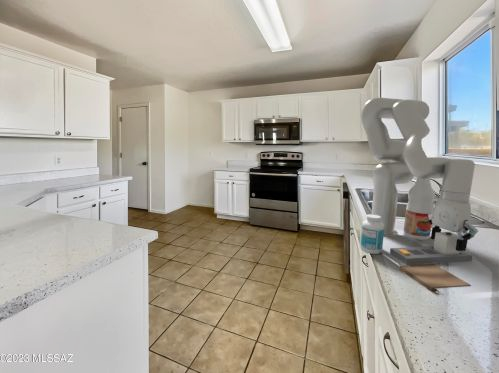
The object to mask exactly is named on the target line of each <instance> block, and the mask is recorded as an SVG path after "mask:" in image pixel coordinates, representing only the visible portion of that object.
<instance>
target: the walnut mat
mask: <svg viewBox="0 0 499 373" xmlns="http://www.w3.org/2000/svg"><path fill="white" fill-rule="evenodd" d="M399 270H401V271H402V272H403V273H404V272H405V275H408V277H410V278H411V279H413V280H414V281H416V282H417V283H418V284H420V285H421V286H423V287H424V288H425V287H426V289H427V290H428V291H430V292H439V290H438V289H439V288H440V289H441V288H452V287H469V286H471V284H470V283H468V282H467V281H465V280H464V279H462V278H459V277H458V276H457V275H455V274H453V273H451V272H449V271H447V270H446V269H444V268H442V267H440V266H438V265H437V264H436V263H424V264H405V265H399Z"/></svg>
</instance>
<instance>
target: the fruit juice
mask: <svg viewBox="0 0 499 373" xmlns="http://www.w3.org/2000/svg"><path fill="white" fill-rule="evenodd" d="M435 198H436V191H435V190H434V189H433V186H432V184H431V179H420V178H417V177H416V180H415V183H414V185H413V186H412V187H411V188H410V189H409V191H408V202H407V204H406V209H405V216H404V224H403V232H402V233H403V236H406V237H407V238H409V239H414V240H419V241H420V240H421V241H426V240H427V241H428V240H430V239H431V233H432V228H431V224H430V222H429V217H428V214H432V213H433V211H434V207H435V205H434V200H435Z"/></svg>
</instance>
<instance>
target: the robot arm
mask: <svg viewBox="0 0 499 373" xmlns="http://www.w3.org/2000/svg"><path fill="white" fill-rule="evenodd" d="M429 114H430V107H429V105H428V104H427V102H425V101H423V100H419V99H418V100H415V99H401V98H400V99H399V98H389V97H373V98H371V99H369V100H367V101H366V102H365V104H364V105H363V107H362V110H361V116H360V118H361V120H360V121H361V123H362V125H363V128H364V131H365V134H366V137H367V138H366V139H367V142H368V146H369V150H370V153H371V154H370V155H371V157H372V158H373V160H375V161H378V162H379V161H380V162H382V163H379V164H377V165H376V166H375V167H374V168H373V170H372V181H373V193H372V194H373V195H372V205H371V214H370V215H378V216H380V217H381V220H380V222H381V223H383V224H384V236H383V237H393V236H398V235H399V232H398V231H397V230H396V229H395V225H396V218H397V207H398V198H399V192H398V189H397V185H402V184H408V183H410V182H412V181H413V179H414V177H415V178H416V179H417V178H420V179H430V180H431V179H442V183H441V189H440V191H439V194H440V195H439V197H437V200H436V202H435V205H434V211H433V213H432V214H428V217H429V222H430V224H431V232H430V239H431V240H435V234H436V232H442V229H444V230H446V231H447V232H451V233H455V234H456V235H458V237H459V239H457V243H456V250H457V251H465V252H466V250H467V246H468V241H470V240H471V239H472V238H474V237H475V235H476V234H477V233H478V232H479V230H478V228H476V226H474V225H473V224H472V223H471V215H472V214H471V212H472V210H471V209H472V208H471V202H469V201H470V197H471V191H472V184H473V178H474V172H475V162H474V161H473V160H471V159H466V158H465V159H461V158H447V157H441V156H439V157H433V156H432V157H431V156H429V157H428V156H427V155H426V152H425V150H424V148H423V145H422V140H423V139H424V138H425V137H427V136H428V135H429V134H430V131H431V130H430V127H429V125H428V124H427V122H426V119H427V118H428V117H429ZM382 119H388V120H389V119H392V120H393V121H394V122H395V124H396V126H397V128H398V130H399V132H400V133H401V136H402V137H403V140H404V141H403V140H401V139H396V138H395V139H392V138H391V137H390V134H389V130H388V128H387V125H386V124H385V123H384V122H383V120H382ZM385 161H386V162H385ZM387 161H388V162H387Z"/></svg>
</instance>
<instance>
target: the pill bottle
mask: <svg viewBox="0 0 499 373" xmlns="http://www.w3.org/2000/svg"><path fill="white" fill-rule="evenodd" d="M380 220H381V217H380V216H378V215H371V214H367V215H366V219H365V220H364V221H362V224H361V233H360V234H361V235H360V246H359V248H360V250H361V251H363V252H364V253H367V254H370V255H379V254H381V253H382V252H383V247H384V246H383V245H384V237H385V236H384V224H383V223H381V222H380Z"/></svg>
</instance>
